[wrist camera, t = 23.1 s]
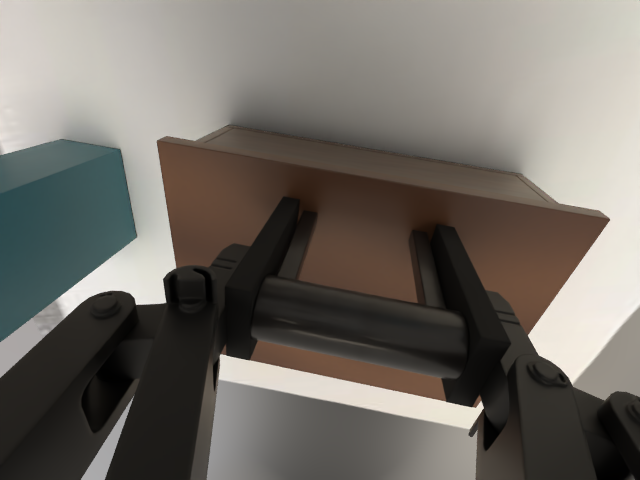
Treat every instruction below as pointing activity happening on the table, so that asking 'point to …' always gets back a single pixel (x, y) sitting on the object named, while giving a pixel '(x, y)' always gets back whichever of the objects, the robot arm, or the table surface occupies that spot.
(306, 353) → the lid
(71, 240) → the block
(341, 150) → the chest
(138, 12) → the table surface
